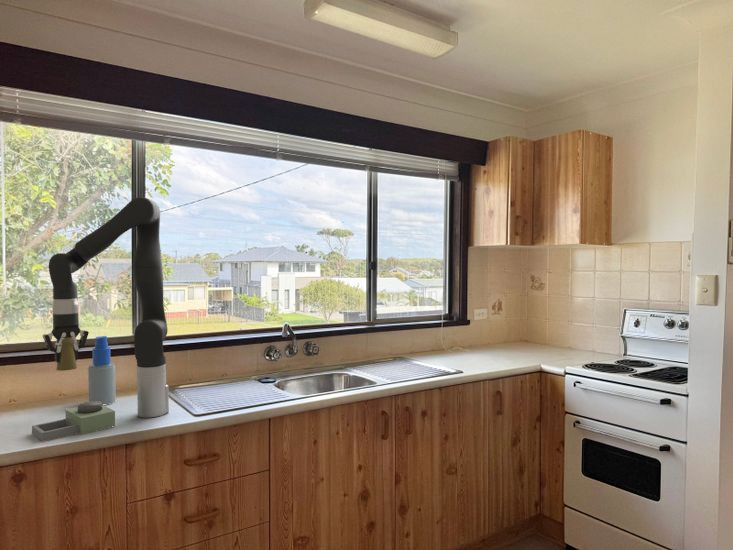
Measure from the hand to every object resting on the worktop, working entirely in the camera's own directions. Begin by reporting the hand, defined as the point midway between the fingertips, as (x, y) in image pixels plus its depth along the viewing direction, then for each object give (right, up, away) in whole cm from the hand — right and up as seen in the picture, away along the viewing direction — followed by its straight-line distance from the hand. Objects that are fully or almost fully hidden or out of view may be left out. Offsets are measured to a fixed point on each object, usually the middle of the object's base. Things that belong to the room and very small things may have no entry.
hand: (66, 362), depth 170 cm
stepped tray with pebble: (+9, -19, -12) cm, 24 cm away
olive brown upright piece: (0, -2, 0) cm, 2 cm away
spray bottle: (+2, -19, +18) cm, 26 cm away
